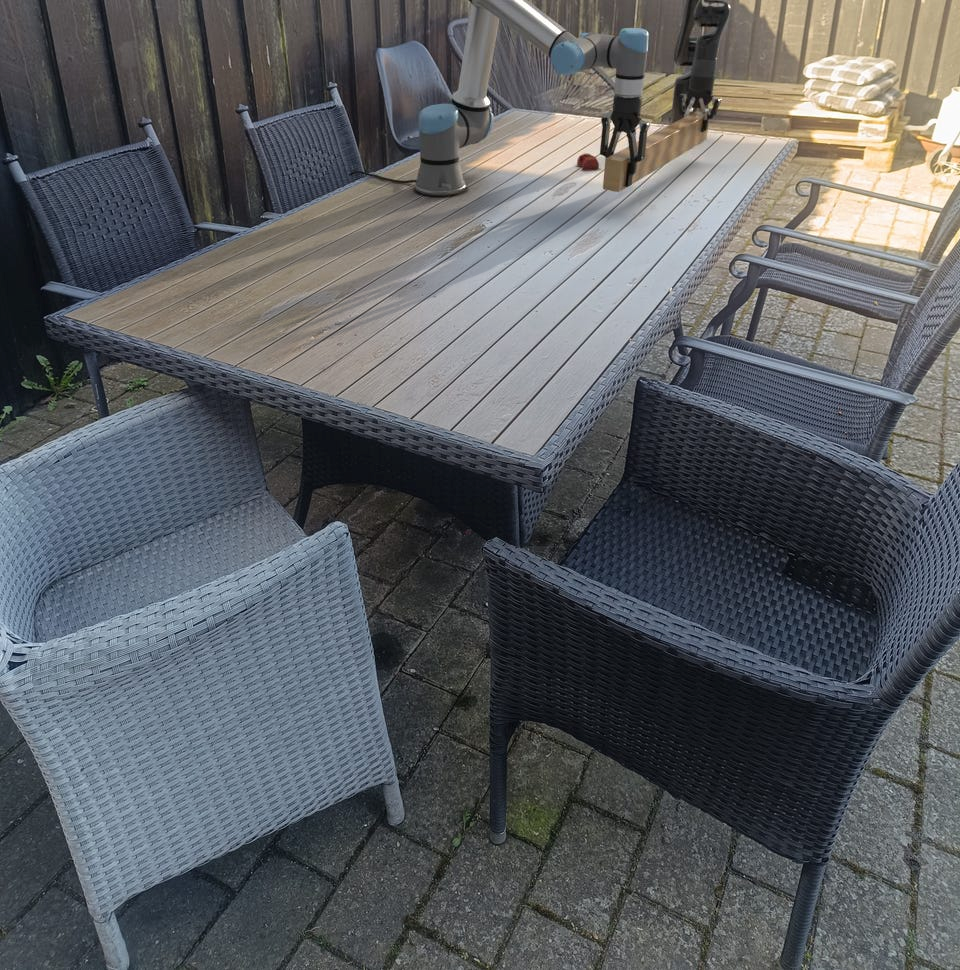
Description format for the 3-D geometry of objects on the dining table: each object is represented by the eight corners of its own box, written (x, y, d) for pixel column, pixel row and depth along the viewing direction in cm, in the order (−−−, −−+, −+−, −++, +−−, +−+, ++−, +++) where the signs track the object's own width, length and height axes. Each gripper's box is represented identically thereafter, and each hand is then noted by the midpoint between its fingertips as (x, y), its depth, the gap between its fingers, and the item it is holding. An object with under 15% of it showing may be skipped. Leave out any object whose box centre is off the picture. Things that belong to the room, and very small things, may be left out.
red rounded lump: (591, 150, 280) (600, 156, 273) (591, 163, 282) (599, 169, 276) (576, 151, 279) (584, 158, 272) (575, 164, 281) (583, 171, 275)
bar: (618, 192, 232) (622, 161, 228) (602, 189, 235) (605, 158, 230) (706, 140, 279) (710, 113, 274) (691, 137, 281) (695, 111, 276)
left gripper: (665, 96, 222) (654, 186, 236) (603, 88, 230) (596, 175, 243) (654, 101, 217) (643, 193, 231) (591, 93, 225) (584, 182, 238)
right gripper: (729, 74, 263) (720, 131, 273) (686, 69, 270) (678, 125, 280) (721, 78, 258) (711, 136, 268) (677, 72, 264) (669, 129, 275)
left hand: (619, 183), depth 237 cm, fingers closed on bar, 5 cm apart
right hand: (694, 130), depth 274 cm, fingers closed on bar, 5 cm apart
